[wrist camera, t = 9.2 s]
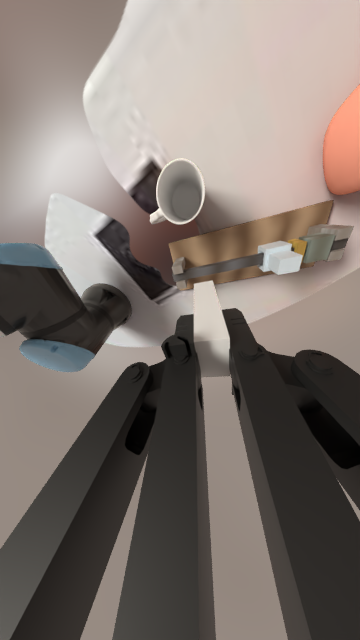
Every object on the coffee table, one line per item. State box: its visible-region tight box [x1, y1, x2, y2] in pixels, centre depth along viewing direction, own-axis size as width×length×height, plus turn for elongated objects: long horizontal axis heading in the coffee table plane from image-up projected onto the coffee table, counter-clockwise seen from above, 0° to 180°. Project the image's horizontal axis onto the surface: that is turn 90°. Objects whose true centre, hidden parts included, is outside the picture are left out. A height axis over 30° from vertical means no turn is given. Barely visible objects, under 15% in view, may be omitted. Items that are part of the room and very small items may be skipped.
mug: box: [150, 158, 205, 224], centre depth 24 cm, size 10×7×12 cm, turn 119°
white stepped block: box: [257, 241, 303, 275], centre depth 25 cm, size 4×4×8 cm
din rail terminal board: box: [169, 200, 354, 290], centre depth 30 cm, size 32×12×9 cm, turn 103°
